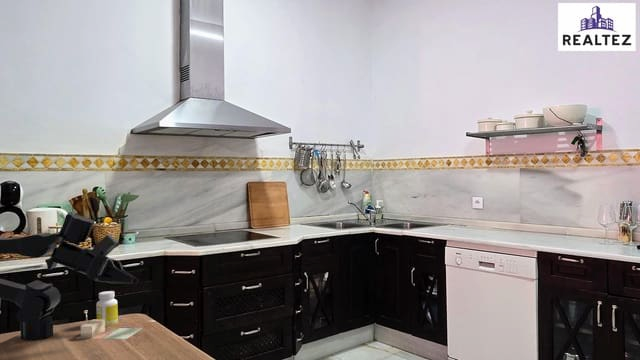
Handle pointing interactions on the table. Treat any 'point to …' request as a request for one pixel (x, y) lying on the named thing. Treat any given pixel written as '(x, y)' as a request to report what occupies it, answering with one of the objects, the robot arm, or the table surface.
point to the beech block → (92, 328)
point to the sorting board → (115, 333)
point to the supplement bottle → (107, 308)
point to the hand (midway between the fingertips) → (135, 281)
